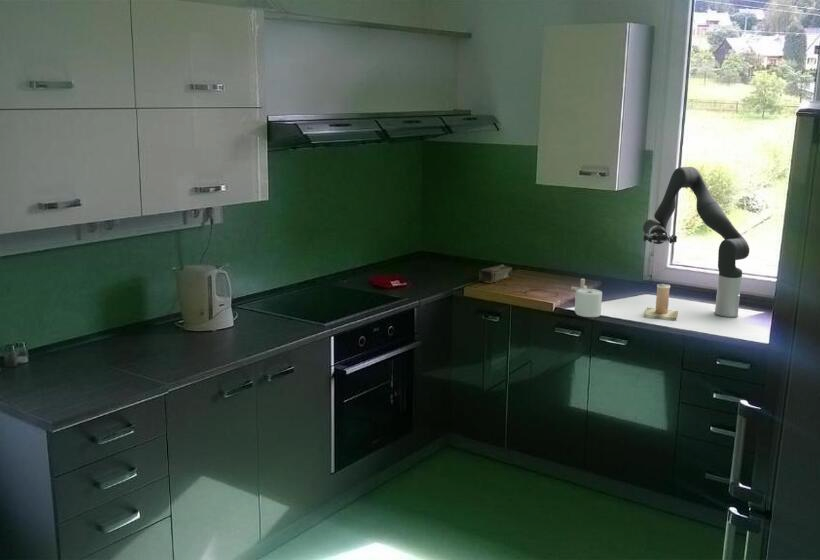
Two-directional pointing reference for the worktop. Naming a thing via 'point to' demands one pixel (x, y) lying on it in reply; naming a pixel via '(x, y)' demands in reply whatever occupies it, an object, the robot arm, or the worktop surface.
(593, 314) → the toilet tissue
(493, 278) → the beverage carton
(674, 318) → the birch board
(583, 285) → the pipe connector
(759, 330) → the worktop surface
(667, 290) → the terracotta jar
